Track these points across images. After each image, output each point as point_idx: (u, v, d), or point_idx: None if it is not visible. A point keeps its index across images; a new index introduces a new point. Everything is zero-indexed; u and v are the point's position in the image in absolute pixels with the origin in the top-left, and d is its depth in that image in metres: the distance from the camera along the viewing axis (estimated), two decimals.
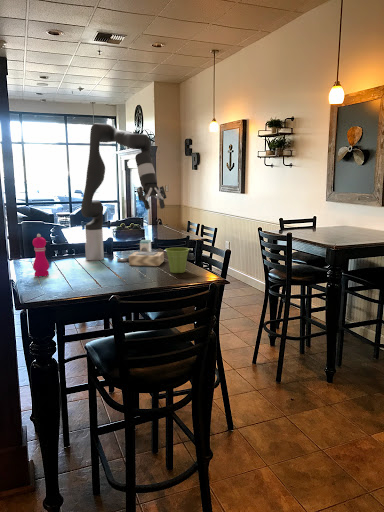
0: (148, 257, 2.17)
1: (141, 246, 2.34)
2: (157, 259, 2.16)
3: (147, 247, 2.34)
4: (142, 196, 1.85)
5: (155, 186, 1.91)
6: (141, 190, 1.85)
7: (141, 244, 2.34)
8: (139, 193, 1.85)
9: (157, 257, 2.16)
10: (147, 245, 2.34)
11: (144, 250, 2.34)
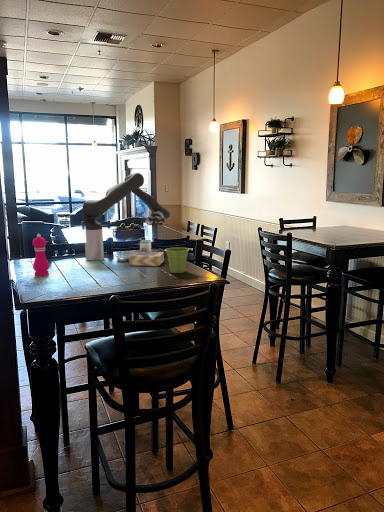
0: (148, 257, 2.17)
1: (141, 246, 2.34)
2: (157, 259, 2.16)
3: (147, 247, 2.34)
4: (163, 221, 2.53)
5: None
6: None
7: (141, 244, 2.34)
8: (164, 219, 2.54)
9: (157, 257, 2.16)
10: (147, 245, 2.34)
11: (144, 250, 2.34)
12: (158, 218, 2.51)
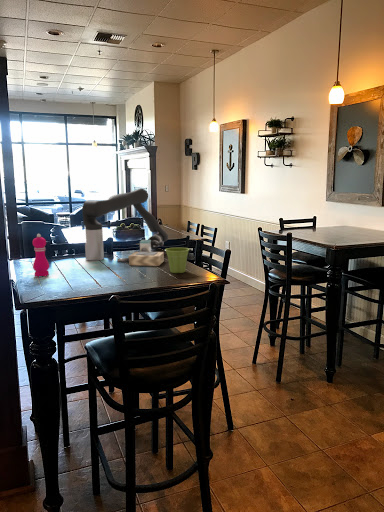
0: (148, 257, 2.17)
1: (141, 246, 2.34)
2: (157, 259, 2.16)
3: (147, 247, 2.34)
4: (161, 246, 2.51)
5: None
6: None
7: (141, 244, 2.34)
8: (162, 243, 2.52)
9: (157, 257, 2.16)
10: (147, 245, 2.34)
11: (144, 250, 2.34)
12: (156, 242, 2.48)
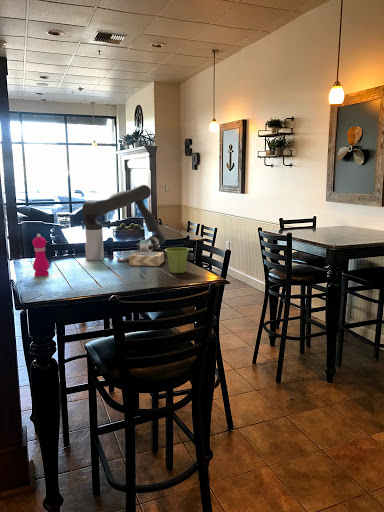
0: (148, 257, 2.17)
1: (141, 246, 2.34)
2: (157, 259, 2.16)
3: (147, 247, 2.34)
4: (155, 248, 2.40)
5: None
6: (157, 248, 2.42)
7: (141, 244, 2.34)
8: (157, 246, 2.41)
9: (157, 257, 2.16)
10: (147, 245, 2.34)
11: (144, 250, 2.34)
12: None
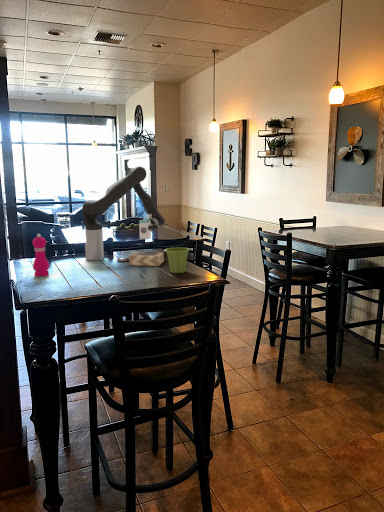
0: (148, 257, 2.17)
1: (140, 226, 2.30)
2: (157, 259, 2.16)
3: (147, 227, 2.30)
4: None
5: None
6: (157, 228, 2.38)
7: (140, 224, 2.30)
8: (157, 227, 2.37)
9: (157, 257, 2.16)
10: (147, 225, 2.29)
11: (143, 230, 2.29)
12: None
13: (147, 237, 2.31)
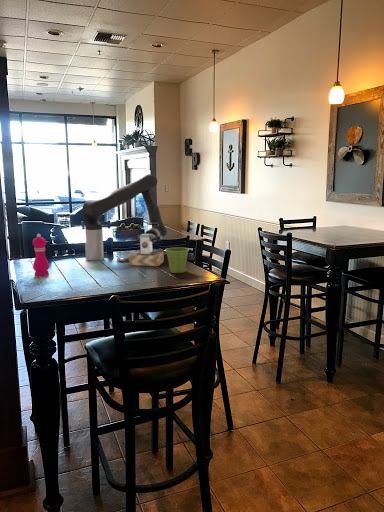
0: (148, 257, 2.17)
1: (141, 240, 2.19)
2: (157, 259, 2.16)
3: (148, 241, 2.19)
4: (158, 240, 2.24)
5: None
6: (159, 239, 2.27)
7: (141, 238, 2.19)
8: (160, 238, 2.26)
9: (157, 257, 2.16)
10: (148, 239, 2.19)
11: (145, 244, 2.19)
12: (152, 236, 2.22)
13: (148, 252, 2.20)
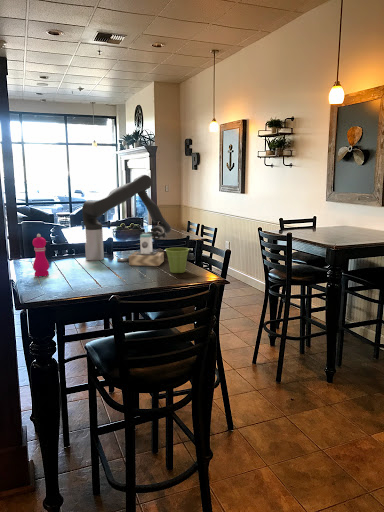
0: (148, 257, 2.17)
1: (141, 240, 2.19)
2: (157, 259, 2.16)
3: (148, 241, 2.19)
4: None
5: None
6: (164, 236, 2.40)
7: (141, 238, 2.19)
8: (165, 234, 2.39)
9: (157, 257, 2.16)
10: (148, 239, 2.19)
11: (145, 244, 2.19)
12: (159, 233, 2.35)
13: (148, 252, 2.20)
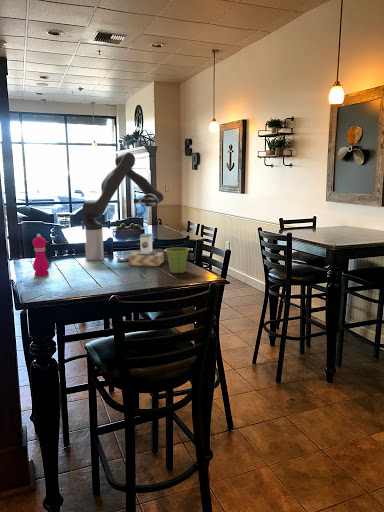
0: (148, 257, 2.17)
1: (141, 240, 2.19)
2: (157, 259, 2.16)
3: (148, 241, 2.19)
4: (156, 203, 2.44)
5: None
6: (157, 202, 2.46)
7: (141, 238, 2.19)
8: (157, 201, 2.45)
9: (157, 257, 2.16)
10: (148, 239, 2.19)
11: (145, 244, 2.19)
12: (151, 199, 2.41)
13: (148, 252, 2.20)
